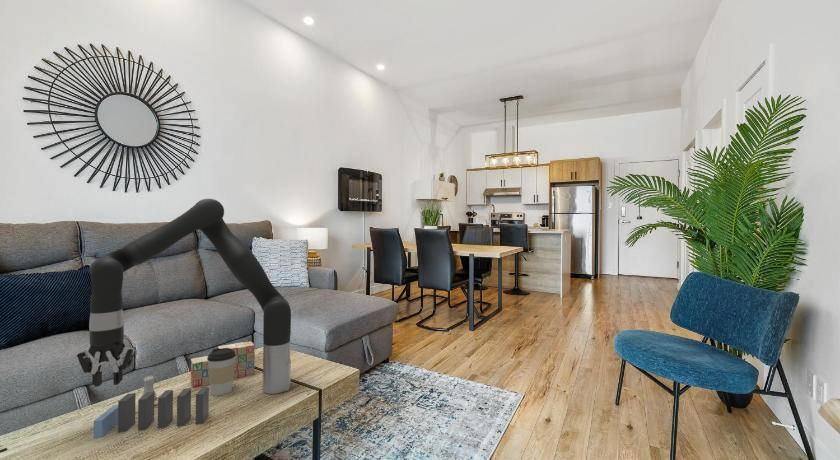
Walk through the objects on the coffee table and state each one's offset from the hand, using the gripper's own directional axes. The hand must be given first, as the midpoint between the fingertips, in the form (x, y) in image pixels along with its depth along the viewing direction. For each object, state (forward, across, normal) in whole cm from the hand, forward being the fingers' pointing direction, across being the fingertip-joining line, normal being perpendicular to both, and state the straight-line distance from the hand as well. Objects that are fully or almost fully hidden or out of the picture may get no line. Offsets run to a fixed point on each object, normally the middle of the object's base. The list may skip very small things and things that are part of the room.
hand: (107, 384), depth 104 cm
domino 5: (+14, -25, 0) cm, 28 cm away
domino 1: (+13, -5, 0) cm, 14 cm away
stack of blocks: (+14, -22, -32) cm, 41 cm away
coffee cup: (+14, -25, -20) cm, 34 cm away
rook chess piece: (+14, -3, -18) cm, 22 cm away
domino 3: (+14, -15, 0) cm, 20 cm away
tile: (+11, 0, -5) cm, 12 cm away
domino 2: (+13, -10, 0) cm, 17 cm away
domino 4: (+14, -20, 0) cm, 24 cm away
